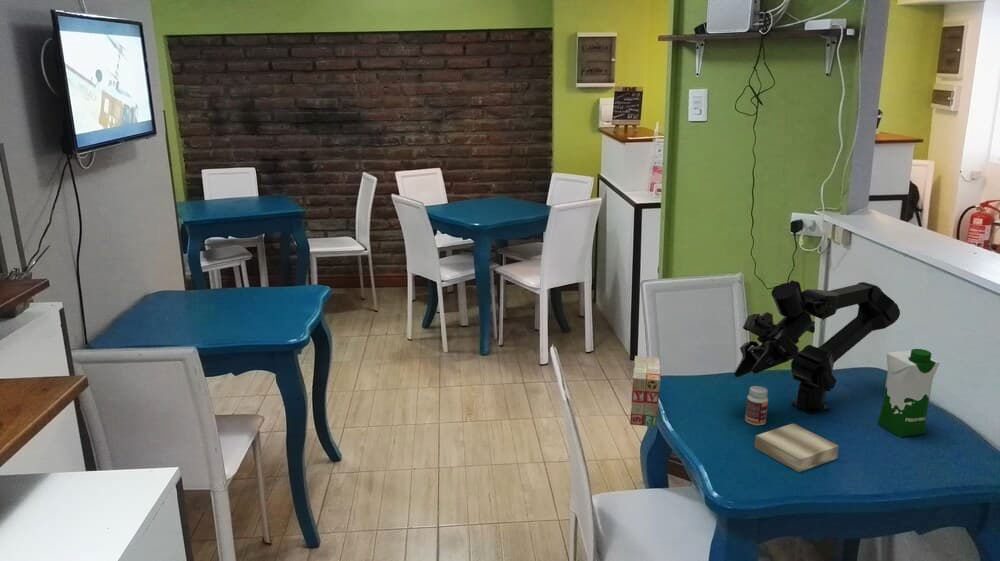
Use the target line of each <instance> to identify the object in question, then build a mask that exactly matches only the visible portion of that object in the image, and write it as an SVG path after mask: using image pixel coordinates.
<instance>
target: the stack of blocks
mask: <svg viewBox="0 0 1000 561" xmlns="http://www.w3.org/2000/svg"><path fill="white" fill-rule="evenodd" d="M660 363H661V362H660V359H659V357H654V356H642V355H640V356H639V355H634V364H633V375H632V387H631V389H632V390H631V408H630V409H631V410H630V421H629V424H630V425H633V426H645V427H653V428H655V427H656V428H657V425H658V424H657V423H658V414H659V412H658V411H659V402H660V401H659V400H660V389H661V388H660V387H661V364H660Z"/></svg>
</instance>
